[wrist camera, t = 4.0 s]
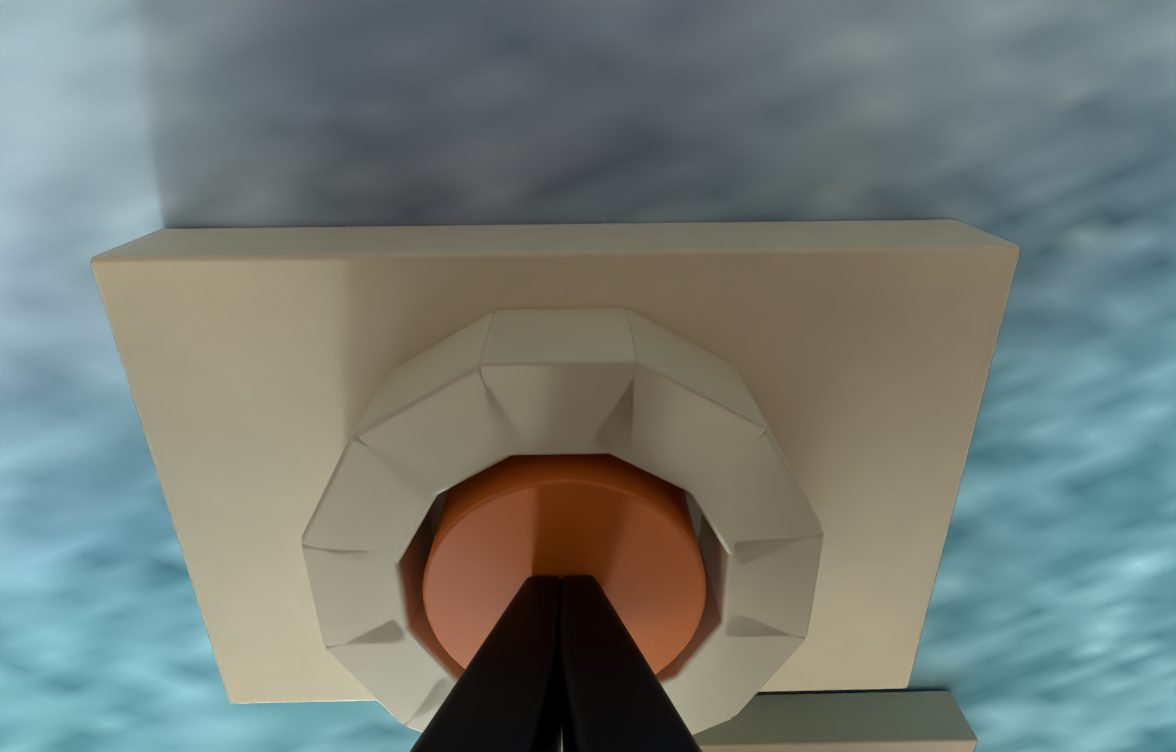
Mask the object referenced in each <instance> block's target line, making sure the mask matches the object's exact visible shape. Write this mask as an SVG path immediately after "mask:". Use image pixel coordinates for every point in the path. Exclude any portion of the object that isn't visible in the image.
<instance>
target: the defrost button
mask: <svg viewBox="0 0 1176 752" xmlns="http://www.w3.org/2000/svg"><path fill="white" fill-rule="evenodd" d="M547 575H555V576H558V577H559V578H560V581H561V579H562V578H563V577H564V576H565V575H592V576H594V577H595V578H596V579H597V581H598V582H599V584H600V586H601V587H602V589H603V591H604V592H605V594H606V596H607V597H608V599H609V600H610V602H611V604H612V605H613V607H614V609H615V610H616V612H617V613H618V615H619V617H620V618H621V620H622V622H623V623H624V625H625V626H626V628H627V630H628V631H629V633H630V635H631V636H632V638H633V639H634V641H635V643H636V644H637V646H638V648H639V649H640V651H641V653H642V654H643V656H644V657H645V659H646V661H647V662H648V664H649V666H650V667H651V669H652V670H653V672H654V674H656V673H658V672H659V671H661V670H662V669H663V668H665V667H666V666H667V665H668V664H669V663H671V662H672V661H673V660H674V659H675V658H676V657H677V656H678V655H679V654H680V653H681V652H682V651H683V649H684V648H685V647H686V645H687V644H688V642H689V641H690V640H691V638H692V637H693V635H694V633H695V631H696V629H697V627H698V625H699V622H700V619H701V616H702V613H703V610H704V606H705V600H706V576H705V570H704V565H703V561H702V557H701V553H700V550H699V546H698V542H697V538H696V534H695V530H694V526H693V523H692V519H691V515H690V511H689V507H688V503H687V500H686V496H685V492H684V489H682V488H680V487H678V486H675V485H673V484H671V483H669V482H667V481H665V480H663V479H661V478H659V477H657V476H655V475H653V474H651V473H649V472H646V471H644V470H642V469H640V468H638V467H636V466H634V465H632V464H630V463H628V462H626V461H624V460H622V459H620V458H617V457H615V456H613V455H611V454H557V455H511V456H509V457H507V458H506V459H504V460H502V461H500V462H498V463H496V464H494V465H492V466H490V467H489V468H487V469H485V470H483V471H481V472H479V473H477V474H475V475H473V476H472V477H470V478H468V479H466V480H464V481H462V482H460V483H458V484H456V485H455V486H453V487H451V488H449V489H448V492H447V495H446V498H445V502H444V505H443V509H442V512H441V516H440V519H439V523H438V526H437V529H436V533H435V536H434V540H433V543H432V547H431V550H430V554H429V557H428V560H427V564H426V567H425V571H424V578H423V601H424V606H425V610H426V615H427V618H428V620H429V623H430V625H431V628H432V630H433V632H434V634H435V635H436V637H437V639H438V640H439V642H440V644H441V645H442V646H443V647H444V649H445V650H446V651H447V652H448V654H449V655H450V656H451V657H452V658H453V659H454V660H455V661H457V662H458V663H459V664H460V665H461V666H462V667H463V668H465V669H466V667H467V666H468V664H469V663H470V661H471V660H472V658H473V657H474V655H475V654H476V652H477V651H478V650H479V648H480V647H481V645H482V644H483V642H484V641H485V639H486V638H487V636H488V635H489V633H490V632H491V630H492V629H493V627H494V626H495V624H496V623H497V621H498V620H499V618H500V617H501V615H502V614H503V612H504V611H505V609H506V608H507V606H508V605H509V603H510V602H511V600H512V599H513V597H514V596H515V595H516V593H517V592H518V590H519V589H520V587H521V586H522V584H523V583H524V581H525V580H526V579H527V578H528V577H530V576H547Z"/></svg>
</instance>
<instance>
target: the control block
mask: <svg viewBox="0 0 1176 752" xmlns="http://www.w3.org/2000/svg"><path fill="white" fill-rule="evenodd" d="M1019 254H1020V247H1019V246H1018V245H1016V244H1013V243H1011V242H1008V241H1006V240H1004V239H1001V238H999V237H996V236H994V235H992V234H989V233H987V232H984V231H982V230H979V229H977V228H975V227H972V226H970V225H967V224H965V223H963V222H960V221H958V220H955V219H946V220H862V221H779V222H695V223H611V224H528V225H444V226H360V227H276V228H193V229H160V230H157V231H155V232H153V233H150V234H148V235H145V236H143V237H140V238H138V239H135V240H133V241H131V242H128V243H126V244H123V245H121V246H118V247H116V248H113V249H111V250H109V251H106V252H104V253H101V254H99V255H96V256H94V257H92V258H91V266H92V269H93V273H94V276H95V279H96V282H97V285H98V288H99V291H100V295H101V298H102V301H103V304H104V307H105V310H106V314H107V317H108V320H109V323H110V326H111V329H112V333H113V336H114V339H115V342H116V345H117V348H118V352H119V355H120V358H121V361H122V364H123V367H124V371H125V374H126V377H127V380H128V383H129V386H130V390H131V393H132V396H133V399H134V402H135V405H136V409H137V412H138V415H139V418H140V421H141V424H142V428H143V431H144V434H145V437H146V440H147V443H148V446H149V450H150V453H151V456H152V459H153V462H154V465H155V469H156V472H157V475H158V478H159V481H160V484H161V488H162V491H163V494H164V497H165V500H166V503H167V507H168V510H169V513H170V516H171V519H172V522H173V526H174V529H175V532H176V535H177V538H178V541H179V545H180V548H181V551H182V554H183V557H184V560H185V564H186V567H187V570H188V573H189V576H190V579H191V583H192V586H193V589H194V592H195V595H196V598H197V601H198V605H199V608H200V611H201V614H202V617H203V620H204V624H205V627H206V630H207V633H208V636H209V639H210V643H211V646H212V649H213V652H214V655H215V658H216V662H217V665H218V668H219V671H220V674H221V677H222V681H223V684H224V687H225V690H226V693H227V696H228V700H229V702H230V703H233V704H239V703H283V702H327V701H372V700H377V701H378V702H379V703H380V704H381V705H382V706H383V707H384V708H385V709H386V710H387V711H388V712H389V713H391V714H392V715H393V716H394V717H395V718H396V719H397V720H398V721H399V722H400V723H402V724H404V725H405V726H406V727H408V728H411V729H414V730H417V731H420V732H422V733H423V731H424V730H425V728H426V727H427V725H428V724H429V722H430V721H431V719H432V718H433V716H434V715H435V713H436V712H437V710H438V709H439V707H440V706H441V705H442V703H443V702H444V700H445V699H446V697H447V696H448V694H449V693H450V691H451V690H452V688H453V687H454V685H455V684H456V682H457V681H458V679H459V678H460V676H461V675H462V673H463V672H464V670H465V668H463V667H462V666H461V665H460V664H459V663H458V662H457V661H455V660H454V659H453V658H452V657H451V656H450V655H449V654H448V652H447V651H446V650H445V649H444V647H443V646H442V645H441V644H440V642H439V640H438V639H437V637H436V635H435V634H434V632H433V630H432V628H431V625H430V623H429V620H428V618H427V615H426V610H425V606H424V601H423V578H424V571H425V567H426V564H427V560H428V557H429V554H430V550H431V547H432V543H433V540H434V536H435V533H436V529H437V526H438V523H439V519H440V516H441V512H442V509H443V505H444V502H445V498H446V495H447V492H448V489H449V488H451V487H453V486H455V485H456V484H458V483H460V482H462V481H464V480H466V479H468V478H470V477H472V476H473V475H475V474H477V473H479V472H481V471H483V470H485V469H487V468H489V467H490V466H492V465H494V464H496V463H498V462H500V461H502V460H504V459H506V458H507V457H509V456H511V455H557V454H611V455H613V456H615V457H617V458H620V459H622V460H624V461H626V462H628V463H630V464H632V465H634V466H636V467H638V468H640V469H642V470H644V471H646V472H649V473H651V474H653V475H655V476H657V477H659V478H661V479H663V480H665V481H667V482H669V483H671V484H673V485H675V486H678V487H680V488H682V489H684V492H685V496H686V500H687V503H688V507H689V511H690V515H691V519H692V523H693V526H694V530H695V534H696V538H697V542H698V546H699V550H700V553H701V557H702V561H703V565H704V570H705V576H706V600H705V606H704V610H703V613H702V616H701V619H700V622H699V625H698V627H697V629H696V631H695V633H694V635H693V637H692V638H691V640H690V641H689V642H688V644H687V645H686V647H685V648H684V649H683V651H682V652H681V653H680V654H679V655H678V656H677V657H676V658H675V659H674V660H673V661H672V662H671V663H669V664H668V665H667V666H666V667H665V668H663V669H662V670H661V671H659V672H658V673H656V674H655V675H656V677H657V679H658V680H659V682H660V683H661V685H662V687H663V688H664V690H665V692H666V693H667V695H668V696H669V698H670V700H671V701H672V703H673V705H674V706H675V708H676V710H677V711H678V713H679V714H680V716H681V718H682V719H683V721H684V723H685V724H686V726H687V727H688V729H689V731H690V732H691V734H692V735H693V734H696V733H698V732H701V731H703V730H705V729H708V728H710V727H713V726H715V725H718V724H720V723H723V722H725V721H727V720H730V719H731V718H732V716H736V715H737V714H738V713H739V712H740V711H741V710H742V708H743V707H744V706H745V705H746V704H747V703H748V702H749V701H750V700H751V699H752V698H753V696H754V695H755V694H756V693H757V692H771V691H815V690H860V689H904V688H906V687H907V686H908V684H909V680H910V676H911V672H912V668H913V664H914V660H915V656H916V653H917V649H918V645H919V641H920V637H921V633H922V629H923V625H924V622H925V618H926V614H927V610H928V606H929V602H930V598H931V594H932V591H933V587H934V583H935V579H936V575H937V571H938V567H939V564H940V560H941V556H942V552H943V548H944V544H945V540H946V536H947V533H948V529H949V525H950V521H951V517H952V513H953V509H954V505H955V502H956V498H957V494H958V490H959V486H960V482H961V478H962V474H963V471H964V467H965V463H966V459H967V455H968V451H969V447H970V444H971V440H972V436H973V432H974V428H975V424H976V420H977V416H978V413H979V409H980V405H981V401H982V397H983V393H984V389H985V385H986V382H987V378H988V374H989V370H990V366H991V362H992V358H993V354H994V351H995V347H996V343H997V339H998V335H999V331H1000V327H1001V324H1002V320H1003V316H1004V312H1005V308H1006V304H1007V300H1008V296H1009V293H1010V289H1011V285H1012V281H1013V277H1014V273H1015V269H1016V265H1017V262H1018V258H1019Z"/></svg>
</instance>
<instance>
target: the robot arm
mask: <svg viewBox="0 0 1176 752" xmlns="http://www.w3.org/2000/svg"><path fill="white" fill-rule="evenodd" d="M410 752H702V750H701V749H700V747H699V745H698V744H697V742H696V740H695V739H694V737H693V736H692V734H691V732H690V731H689V729H688V727H687V726H686V724H685V723H684V721H683V719H682V718H681V716H680V714H679V713H678V711H677V710H676V708H675V706H674V705H673V703H672V701H671V700H670V698H669V696H668V695H667V693H666V692H665V690H664V688H663V687H662V685H661V683H660V682H659V680H658V679H657V677H656V675H655V674H654V672H653V670H652V669H651V667H650V666H649V664H648V662H647V661H646V659H645V657H644V656H643V654H642V653H641V651H640V649H639V648H638V646H637V644H636V643H635V641H634V639H633V638H632V636H631V635H630V633H629V631H628V630H627V628H626V626H625V625H624V623H623V622H622V620H621V618H620V617H619V615H618V613H617V612H616V610H615V609H614V607H613V605H612V604H611V602H610V600H609V599H608V597H607V596H606V594H605V592H604V591H603V589H602V587H601V586H600V584H599V582H598V581H597V579H596V578H595V577H594V576H592V575H565V576H564V577H563V578H562V579H561V581H560V578H559V577H558V576H555V575H547V576H530V577H528V578H527V579H526V580H525V581H524V583H523V584H522V586H521V587H520V589H519V590H518V592H517V593H516V595H515V596H514V597H513V599H512V600H511V602H510V603H509V605H508V606H507V608H506V609H505V611H504V612H503V614H502V615H501V617H500V618H499V620H498V621H497V623H496V624H495V626H494V627H493V629H492V630H491V632H490V633H489V635H488V636H487V638H486V639H485V641H484V642H483V644H482V645H481V647H480V648H479V650H478V651H477V652H476V654H475V655H474V657H473V658H472V660H471V661H470V663H469V664H468V666H467V667H466V669H465V670H464V672H463V673H462V675H461V676H460V678H459V679H458V681H457V682H456V684H455V685H454V687H453V688H452V690H451V691H450V693H449V694H448V696H447V697H446V699H445V700H444V702H443V703H442V705H441V706H440V707H439V709H438V710H437V712H436V713H435V715H434V716H433V718H432V719H431V721H430V722H429V724H428V725H427V727H426V728H425V730H424V731H423V733H422V734H421V736H420V737H419V739H418V740H417V742H416V743H415V745H414V746H413V748H412V749H411V751H410Z"/></svg>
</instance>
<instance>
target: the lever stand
mask: <svg viewBox="0 0 1176 752" xmlns="http://www.w3.org/2000/svg"><path fill="white" fill-rule="evenodd" d="M692 736H693V737H694V739H695V740H696V742H697V744H698V745H699V747H700V749H701V750H702V752H974V751H975V748H976V745H977V742H978V740H977V737H976V736H975V734H974V732H973V731H972V729H971V727H970V726H969V724H968V722H967V721H966V719H965V717H964V715H963V714H962V712H961V710H960V709H959V707H958V705H957V704H956V702H955V700H954V699H953V697H952V695H951V694H950V692H949V691H912V692H867V693H823V694H779V695H754V696H753V698H752V699H751V700H750V701H749V702H748V703H747V704H746V705H745V706H744V707H743V708H742V710H741V711H740V712H739V713H738V714H737V715H736V716H732V718H731V719H730V720H727V721H725V722H723V723H720V724H718V725H715V726H713V727H710V728H708V729H705V730H703V731H701V732H698V733H696V734H693V735H692Z"/></svg>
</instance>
